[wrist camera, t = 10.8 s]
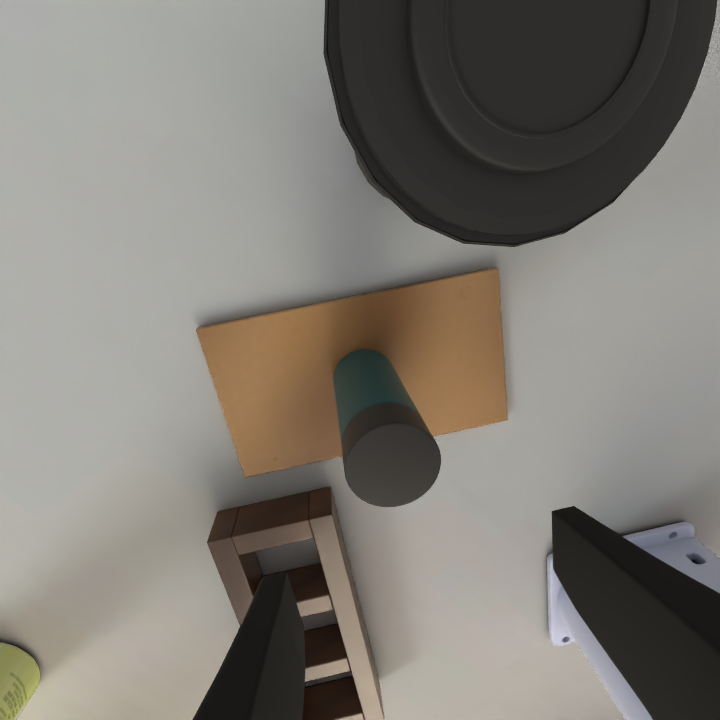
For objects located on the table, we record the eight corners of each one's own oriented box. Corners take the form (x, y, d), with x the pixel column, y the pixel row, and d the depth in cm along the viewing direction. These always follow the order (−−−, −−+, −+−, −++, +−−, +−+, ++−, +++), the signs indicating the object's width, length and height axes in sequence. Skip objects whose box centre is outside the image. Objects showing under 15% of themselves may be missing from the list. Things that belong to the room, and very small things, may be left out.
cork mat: (495, 267, 18) (498, 268, 18) (504, 416, 21) (508, 420, 21) (197, 327, 18) (195, 329, 17) (246, 473, 20) (244, 478, 20)
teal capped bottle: (389, 342, 19) (435, 413, 12) (398, 399, 20) (446, 496, 13) (327, 355, 18) (335, 435, 11) (340, 412, 19) (354, 517, 12)
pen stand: (331, 486, 21) (332, 513, 19) (379, 681, 27) (384, 719, 25) (217, 511, 21) (206, 542, 19) (289, 703, 26) (287, 744, 24)
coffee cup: (305, 22, 15) (289, -350, 5) (514, 10, 15) (835, -342, 6) (330, 246, 17) (349, 269, 8) (507, 229, 18) (721, 231, 8)
